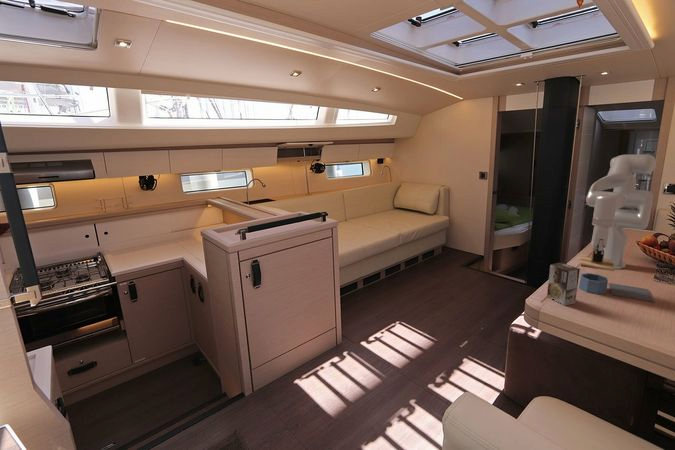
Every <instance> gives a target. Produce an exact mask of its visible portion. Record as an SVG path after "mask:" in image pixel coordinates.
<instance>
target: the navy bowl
mask: <svg viewBox="0 0 675 450" xmlns="http://www.w3.org/2000/svg"><path fill="white" fill-rule="evenodd" d="M608 281H609V279H608V277H606V276H603V275H601V274H597V273H592V272H591V273H589V272H585V273H580V274H579V280H578V289H579V290H582V291H583V292H585V293H589V294H595V295H604V294H607V290H608V289H607V288H608V285H609V282H608Z"/></svg>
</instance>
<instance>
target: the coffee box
mask: <svg viewBox="0 0 675 450" xmlns="http://www.w3.org/2000/svg"><path fill="white" fill-rule="evenodd" d="M580 271H581V268H579V267H578V268H577V267H575V266H573V265H570V264H567V263H564V262H556V263H552V264H551V263H550V266H549V275H548V285H547V293H546V297H547V296H548V297H549V298H548V297H547V298H548V299H550V298H551V299H550V300H552V299H554V300H555V302H556V301H557V302H556V303H558V302H559V303H558V304H560V303H561V304H560V305H562V304H563V305H562V306H569V305H574V304H575V303H576V300H577V292H578V287H579V280H580ZM554 300H553V301H554Z"/></svg>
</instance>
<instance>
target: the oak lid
mask: <svg viewBox="0 0 675 450" xmlns="http://www.w3.org/2000/svg"><path fill="white" fill-rule="evenodd" d="M597 249H598V248H597ZM594 253H595V248H594V247H592V251H591V257H590V256H583V255H580V257H579V261H580V268H581V267H582V268H589V269H594V270H595V269H596V270H602V271H610V272H615V270H616V269H615V268H614V265H613V261H612V260H609V259H603V258H604V249H603V258H602V262H594V261H593V257H594Z"/></svg>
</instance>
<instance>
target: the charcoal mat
mask: <svg viewBox="0 0 675 450" xmlns="http://www.w3.org/2000/svg"><path fill="white" fill-rule="evenodd" d="M608 286H609V290H610V294H611V296H616V297H622V298H625V299H626V298H627V299H633V300H639V301H643V302H644V301H645V302H648V303H649V302H650V303H654V302H655V301H654V298H653V297H652V294H651V293H650V291H649V288H643V287H637V286H636V287H635V286H631V285H623V284H618V283H612V282H608Z"/></svg>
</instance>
